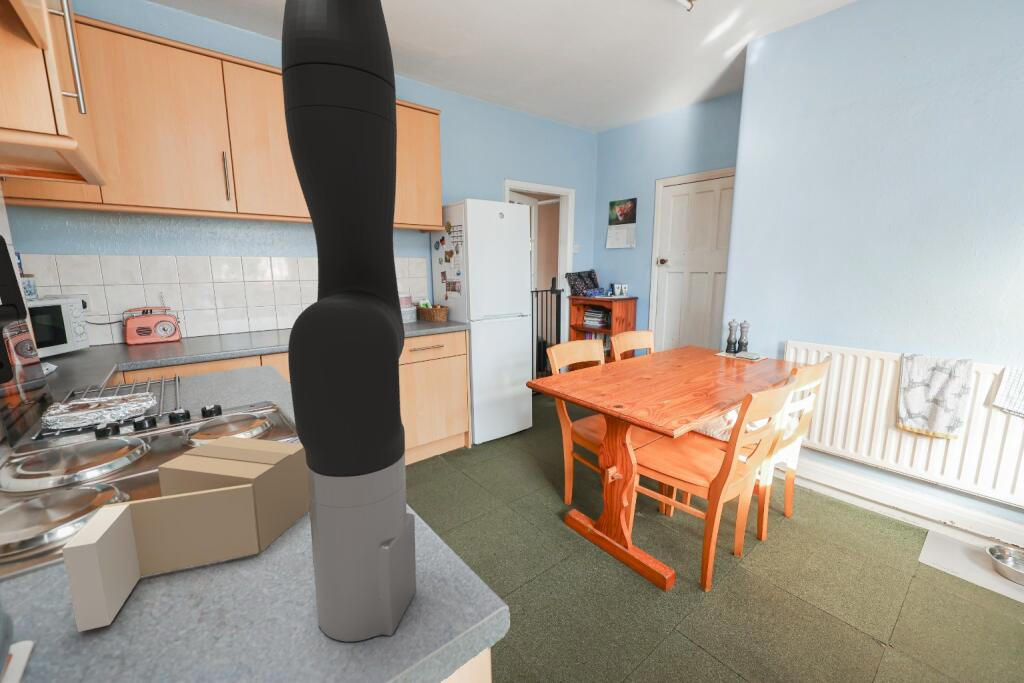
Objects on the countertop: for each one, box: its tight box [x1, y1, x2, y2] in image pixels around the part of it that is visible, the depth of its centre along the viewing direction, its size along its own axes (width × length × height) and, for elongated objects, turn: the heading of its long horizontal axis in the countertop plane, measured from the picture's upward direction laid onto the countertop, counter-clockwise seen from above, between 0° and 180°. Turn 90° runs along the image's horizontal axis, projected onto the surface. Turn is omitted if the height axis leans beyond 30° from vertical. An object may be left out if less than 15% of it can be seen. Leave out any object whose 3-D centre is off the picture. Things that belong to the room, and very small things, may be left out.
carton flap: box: [61, 484, 259, 633], centre depth 46 cm, size 14×8×9 cm, turn 111°
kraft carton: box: [157, 435, 310, 553], centre depth 59 cm, size 14×10×10 cm
